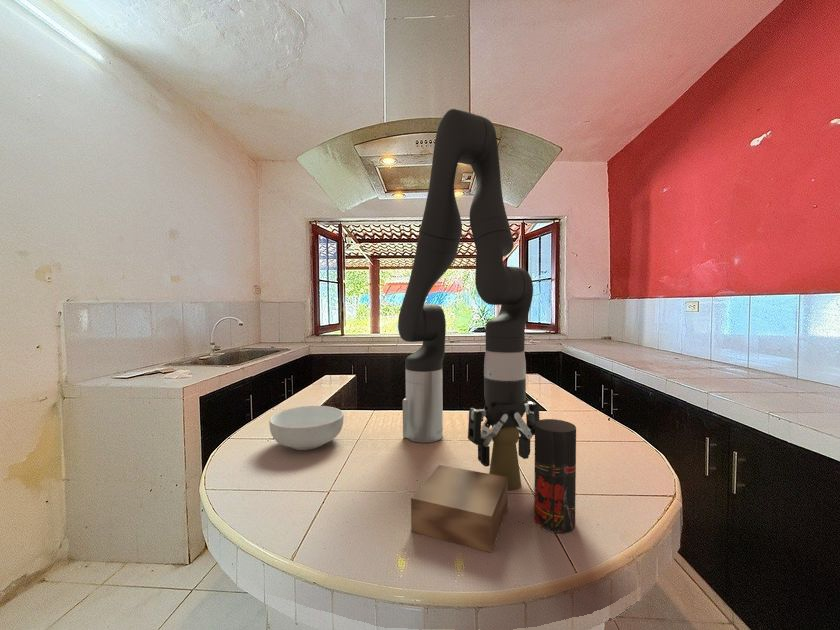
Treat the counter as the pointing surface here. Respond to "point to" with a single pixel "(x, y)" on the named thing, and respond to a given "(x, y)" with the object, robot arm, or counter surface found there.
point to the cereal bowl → (306, 426)
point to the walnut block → (461, 507)
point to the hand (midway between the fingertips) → (504, 460)
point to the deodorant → (555, 475)
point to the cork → (506, 457)
